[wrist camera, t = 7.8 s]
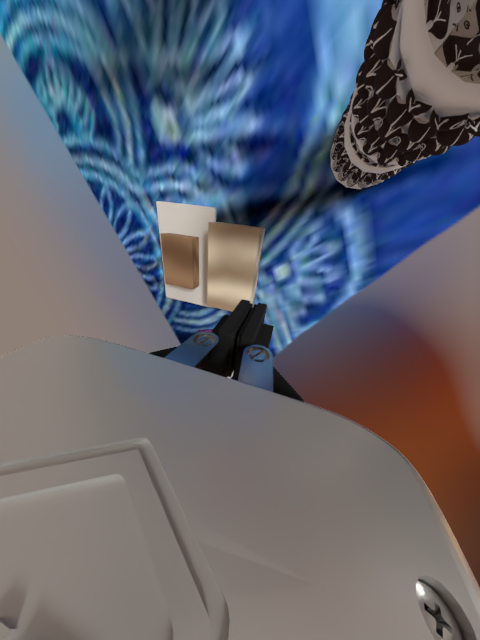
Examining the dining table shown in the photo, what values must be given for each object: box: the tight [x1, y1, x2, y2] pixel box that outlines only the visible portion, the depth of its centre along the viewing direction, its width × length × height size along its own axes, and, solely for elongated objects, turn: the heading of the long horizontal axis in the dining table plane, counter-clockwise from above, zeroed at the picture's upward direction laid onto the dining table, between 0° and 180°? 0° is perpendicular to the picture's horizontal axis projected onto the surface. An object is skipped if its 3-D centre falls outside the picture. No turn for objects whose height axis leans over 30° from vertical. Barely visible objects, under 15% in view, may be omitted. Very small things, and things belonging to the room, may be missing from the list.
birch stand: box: [207, 222, 265, 312], centre depth 32 cm, size 14×8×4 cm, turn 174°
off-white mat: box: [156, 201, 216, 308], centre depth 35 cm, size 18×11×1 cm, turn 174°
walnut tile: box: [160, 233, 199, 289], centre depth 34 cm, size 9×6×2 cm, turn 174°
